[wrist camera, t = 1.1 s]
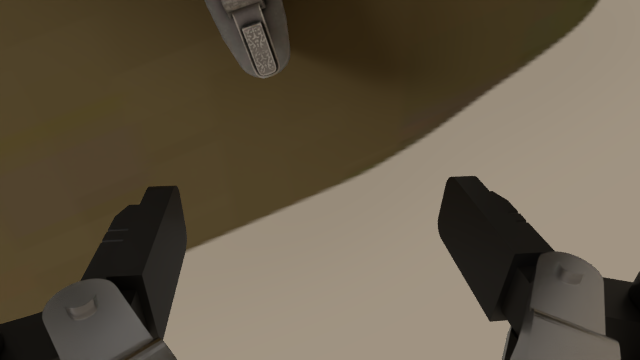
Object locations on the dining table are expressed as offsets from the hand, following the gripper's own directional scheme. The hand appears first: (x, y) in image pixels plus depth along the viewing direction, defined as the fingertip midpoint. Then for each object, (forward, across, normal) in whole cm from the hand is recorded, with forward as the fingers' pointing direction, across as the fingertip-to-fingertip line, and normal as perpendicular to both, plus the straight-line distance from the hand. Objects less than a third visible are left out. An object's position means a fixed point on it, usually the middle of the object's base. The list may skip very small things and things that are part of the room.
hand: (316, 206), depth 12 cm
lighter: (+18, +3, -5) cm, 19 cm away
